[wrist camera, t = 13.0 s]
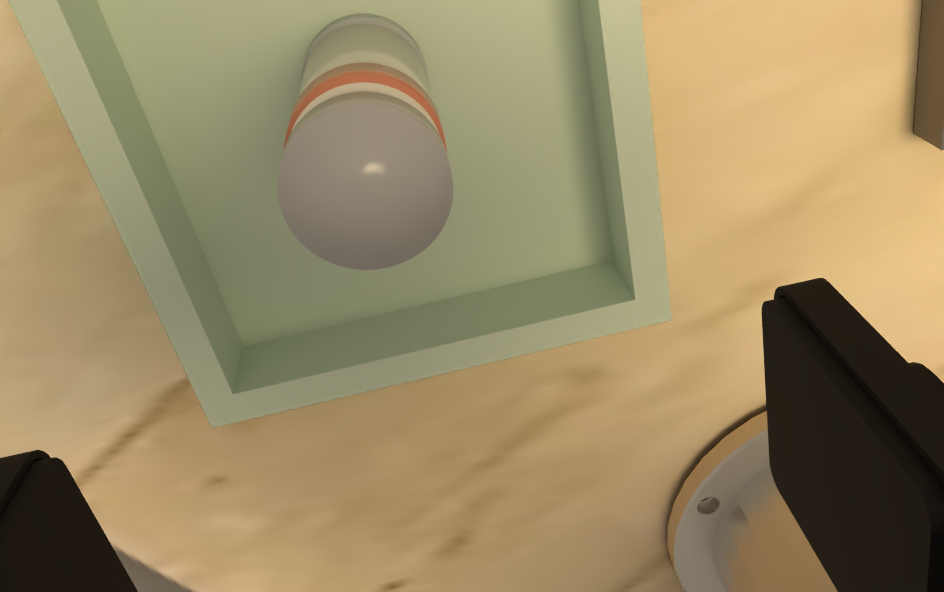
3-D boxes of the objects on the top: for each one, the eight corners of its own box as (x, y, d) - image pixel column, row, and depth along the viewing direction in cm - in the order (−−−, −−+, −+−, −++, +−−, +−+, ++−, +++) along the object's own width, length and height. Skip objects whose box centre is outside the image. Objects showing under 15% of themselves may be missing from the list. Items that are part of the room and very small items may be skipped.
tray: (640, 267, 28) (671, 320, 25) (227, 364, 28) (211, 428, 25) (571, -321, 20) (606, -343, 17) (-13, -180, 20) (-76, -177, 17)
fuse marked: (439, 120, 24) (470, 249, 17) (323, 147, 24) (307, 287, 17) (411, -2, 22) (432, 86, 15) (285, 28, 22) (250, 130, 15)
